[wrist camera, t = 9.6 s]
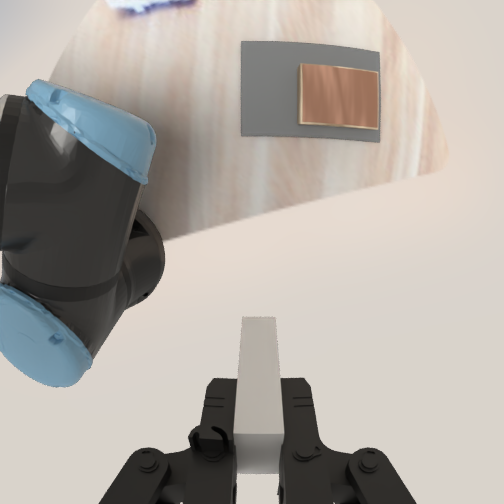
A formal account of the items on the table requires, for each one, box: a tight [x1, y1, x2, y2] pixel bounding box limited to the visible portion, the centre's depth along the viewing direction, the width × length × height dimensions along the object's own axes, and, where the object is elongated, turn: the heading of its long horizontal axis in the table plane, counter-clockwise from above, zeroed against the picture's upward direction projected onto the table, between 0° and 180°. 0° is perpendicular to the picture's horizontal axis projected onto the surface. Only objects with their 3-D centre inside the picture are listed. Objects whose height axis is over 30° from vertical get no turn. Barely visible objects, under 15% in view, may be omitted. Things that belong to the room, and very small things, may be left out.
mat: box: [241, 41, 381, 143], centre depth 33 cm, size 17×12×1 cm
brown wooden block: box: [297, 63, 379, 130], centre depth 32 cm, size 3×7×9 cm
